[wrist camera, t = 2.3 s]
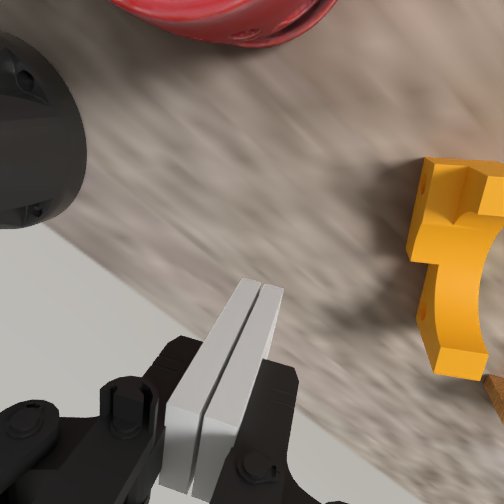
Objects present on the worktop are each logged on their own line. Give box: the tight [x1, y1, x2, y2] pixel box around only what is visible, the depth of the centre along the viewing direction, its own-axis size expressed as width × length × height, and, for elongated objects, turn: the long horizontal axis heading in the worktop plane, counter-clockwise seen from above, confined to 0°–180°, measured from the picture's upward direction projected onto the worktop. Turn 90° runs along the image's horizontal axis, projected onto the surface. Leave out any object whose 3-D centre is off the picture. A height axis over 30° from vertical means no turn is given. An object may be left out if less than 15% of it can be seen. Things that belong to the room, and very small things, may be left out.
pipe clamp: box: [406, 157, 504, 381], centre depth 23 cm, size 12×4×6 cm, turn 178°
